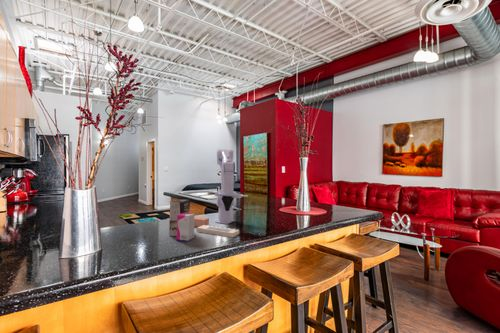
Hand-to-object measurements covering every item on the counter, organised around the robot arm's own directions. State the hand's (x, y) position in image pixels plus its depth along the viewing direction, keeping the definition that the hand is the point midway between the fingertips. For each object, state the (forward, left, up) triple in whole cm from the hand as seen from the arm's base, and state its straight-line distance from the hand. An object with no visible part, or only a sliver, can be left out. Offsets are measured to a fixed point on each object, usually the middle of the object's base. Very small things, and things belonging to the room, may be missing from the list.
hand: (227, 210), depth 138 cm
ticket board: (+10, 0, -9) cm, 13 cm away
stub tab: (+3, -17, -9) cm, 19 cm away
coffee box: (+20, -15, -10) cm, 27 cm away
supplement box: (+26, -7, -10) cm, 29 cm away
